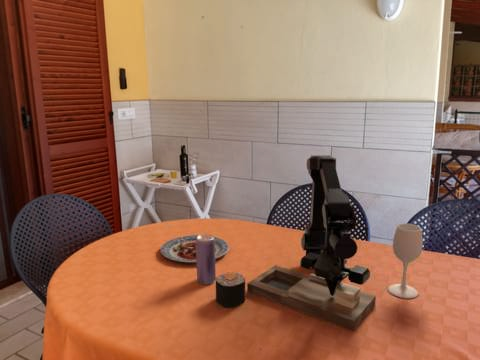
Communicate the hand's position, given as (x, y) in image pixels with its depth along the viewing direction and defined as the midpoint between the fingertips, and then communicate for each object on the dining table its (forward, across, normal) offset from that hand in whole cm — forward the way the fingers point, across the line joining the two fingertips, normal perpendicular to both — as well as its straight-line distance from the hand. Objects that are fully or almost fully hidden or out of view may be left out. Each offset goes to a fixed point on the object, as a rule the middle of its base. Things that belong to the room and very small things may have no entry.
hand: (332, 295), depth 118 cm
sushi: (+4, -25, -15) cm, 30 cm away
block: (+1, +4, 0) cm, 5 cm away
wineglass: (+4, +14, +21) cm, 25 cm away
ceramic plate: (+4, -58, +5) cm, 59 cm away
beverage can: (+4, -39, -10) cm, 41 cm away
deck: (+4, -7, 0) cm, 8 cm away
